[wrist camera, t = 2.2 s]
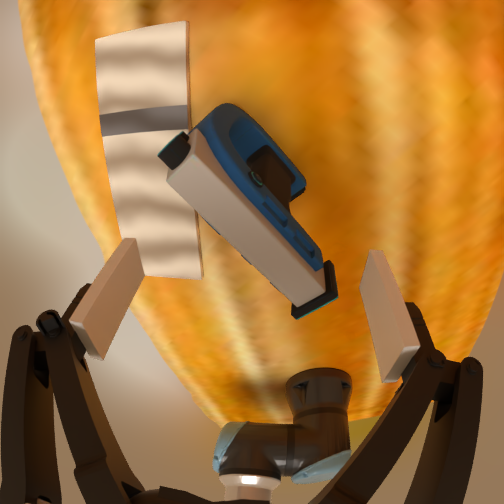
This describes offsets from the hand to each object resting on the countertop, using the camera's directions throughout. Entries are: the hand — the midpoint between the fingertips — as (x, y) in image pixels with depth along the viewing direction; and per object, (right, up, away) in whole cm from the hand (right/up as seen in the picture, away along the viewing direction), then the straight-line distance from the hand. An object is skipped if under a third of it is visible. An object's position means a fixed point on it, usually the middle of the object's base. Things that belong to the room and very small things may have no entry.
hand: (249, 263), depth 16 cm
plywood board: (-13, +12, +20) cm, 27 cm away
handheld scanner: (+2, +12, +19) cm, 22 cm away
